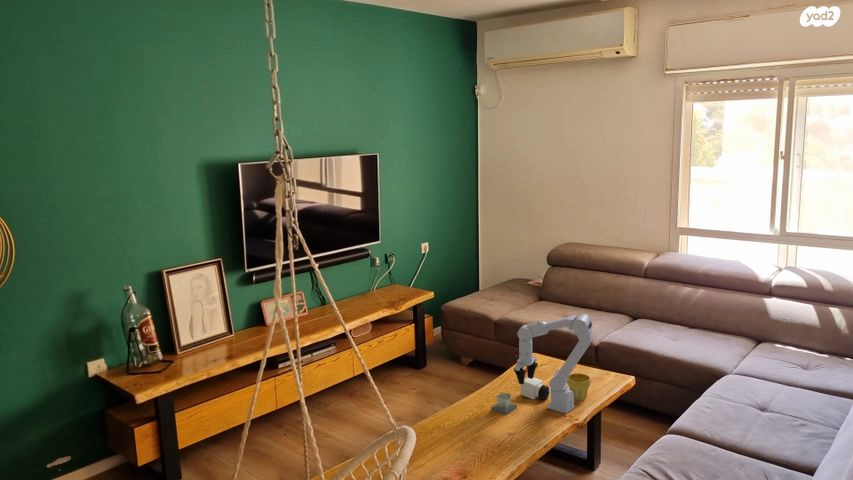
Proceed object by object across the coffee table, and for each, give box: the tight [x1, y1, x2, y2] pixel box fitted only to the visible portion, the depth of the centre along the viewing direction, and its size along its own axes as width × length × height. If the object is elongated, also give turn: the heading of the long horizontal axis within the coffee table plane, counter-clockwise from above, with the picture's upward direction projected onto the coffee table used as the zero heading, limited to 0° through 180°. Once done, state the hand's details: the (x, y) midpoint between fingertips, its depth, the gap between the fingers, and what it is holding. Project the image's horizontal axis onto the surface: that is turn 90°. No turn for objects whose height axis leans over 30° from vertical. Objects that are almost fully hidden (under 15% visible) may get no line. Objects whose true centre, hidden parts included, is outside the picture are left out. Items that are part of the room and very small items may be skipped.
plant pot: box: [566, 372, 592, 402], centre depth 295 cm, size 10×10×10 cm
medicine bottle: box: [520, 376, 551, 401], centre depth 298 cm, size 7×7×12 cm
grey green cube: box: [496, 392, 512, 409], centre depth 287 cm, size 5×5×5 cm
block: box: [490, 403, 518, 416], centre depth 288 cm, size 8×8×2 cm
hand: (525, 381), depth 291 cm, fingers open, 7 cm apart
